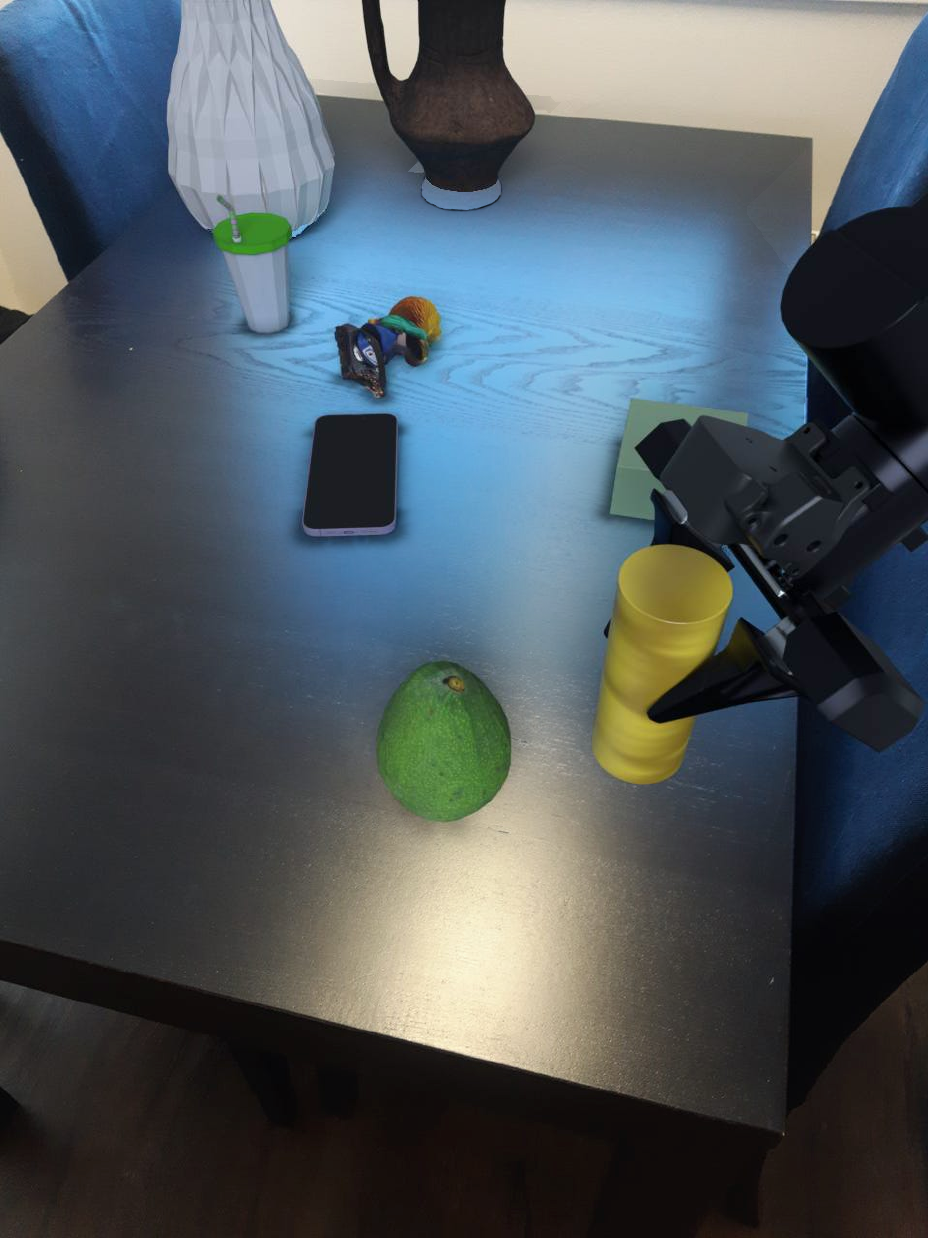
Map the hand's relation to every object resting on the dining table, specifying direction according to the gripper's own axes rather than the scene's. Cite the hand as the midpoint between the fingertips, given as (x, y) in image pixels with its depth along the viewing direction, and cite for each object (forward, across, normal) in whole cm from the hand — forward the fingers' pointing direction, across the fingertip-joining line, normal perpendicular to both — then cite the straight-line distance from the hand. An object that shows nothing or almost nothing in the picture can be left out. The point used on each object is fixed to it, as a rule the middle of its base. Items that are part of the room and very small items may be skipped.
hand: (629, 676), depth 45 cm
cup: (+18, -67, +1) cm, 69 cm away
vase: (+16, -91, +3) cm, 93 cm away
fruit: (+16, -4, +3) cm, 17 cm away
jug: (-2, -95, +22) cm, 97 cm away
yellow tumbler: (+4, 0, +6) cm, 7 cm away
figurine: (+10, -54, +9) cm, 56 cm away
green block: (-3, -28, +22) cm, 36 cm away
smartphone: (+15, -37, +4) cm, 41 cm away
